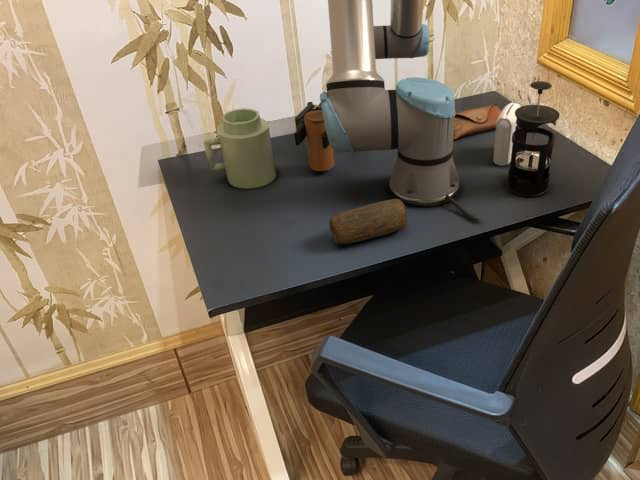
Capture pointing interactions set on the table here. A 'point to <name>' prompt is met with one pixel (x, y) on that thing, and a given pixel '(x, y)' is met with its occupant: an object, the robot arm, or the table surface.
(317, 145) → the brown cylindrical canister
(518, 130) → the french press
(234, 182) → the jug
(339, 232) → the brown wooden cylinder
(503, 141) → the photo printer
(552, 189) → the table surface
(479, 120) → the sunglasses case
